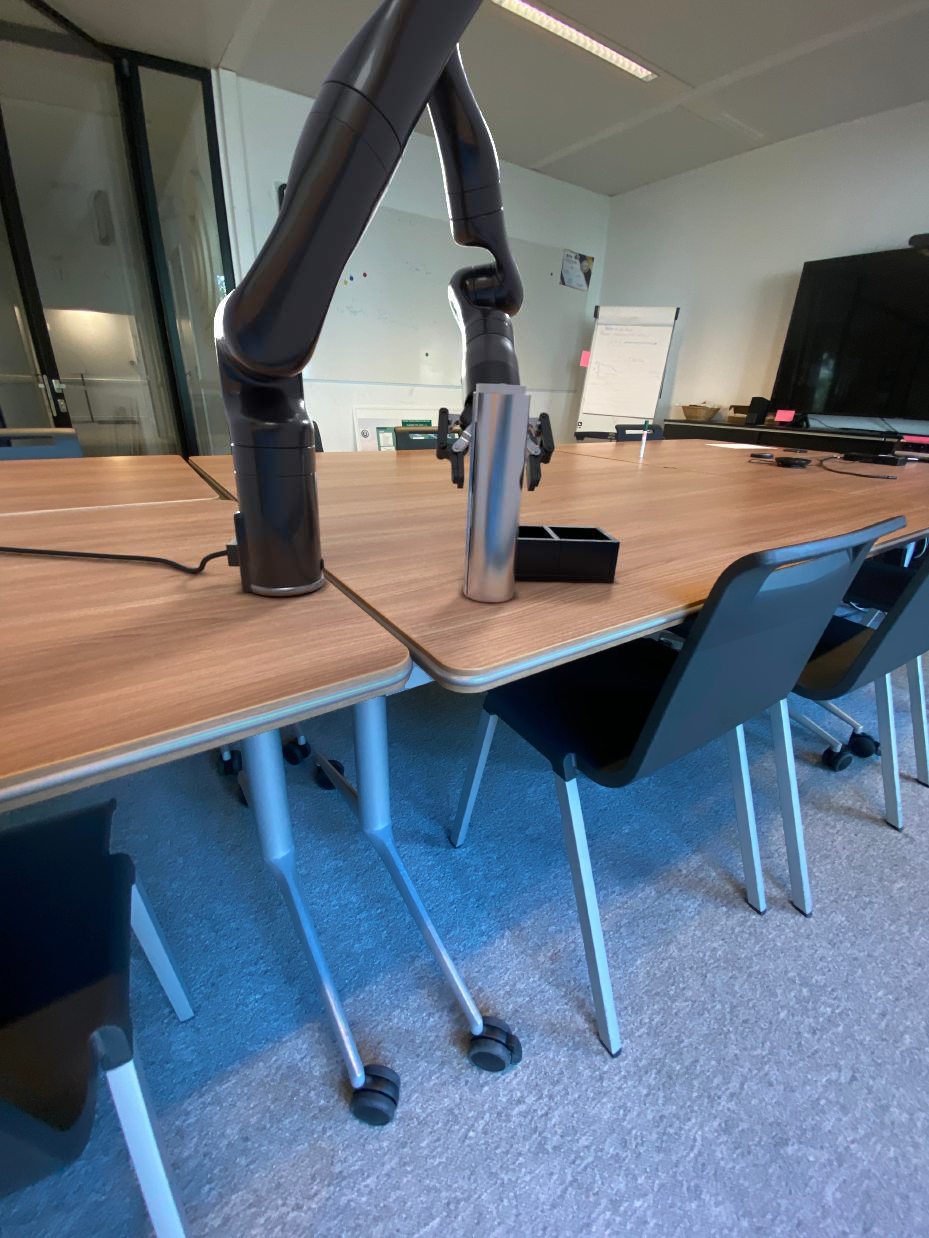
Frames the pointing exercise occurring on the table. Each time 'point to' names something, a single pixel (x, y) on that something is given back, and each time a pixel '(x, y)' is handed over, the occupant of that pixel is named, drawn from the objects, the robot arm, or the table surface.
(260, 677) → the table surface
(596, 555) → the open box with compartments
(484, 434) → the metallic silver cylinder
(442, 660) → the table surface
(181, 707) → the table surface
